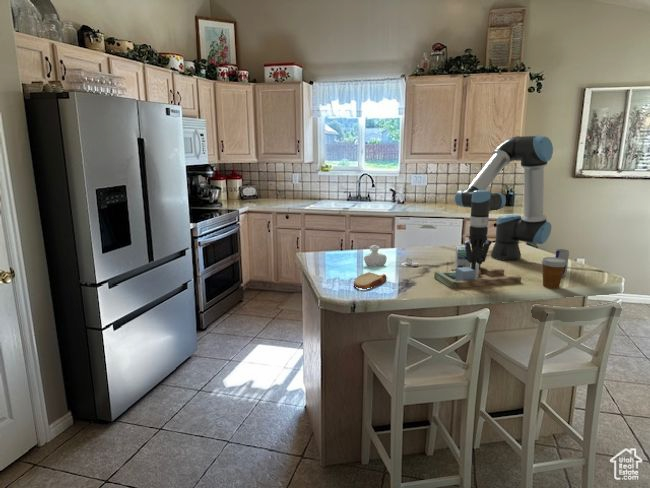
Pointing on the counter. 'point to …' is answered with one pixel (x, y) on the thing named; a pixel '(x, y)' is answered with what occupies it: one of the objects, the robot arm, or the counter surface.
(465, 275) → the cube
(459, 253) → the light bulb box
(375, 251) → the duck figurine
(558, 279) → the disposable coffee cup
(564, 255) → the energy drink
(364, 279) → the bread slice
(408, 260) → the teacup and saucer
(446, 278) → the trap lane
